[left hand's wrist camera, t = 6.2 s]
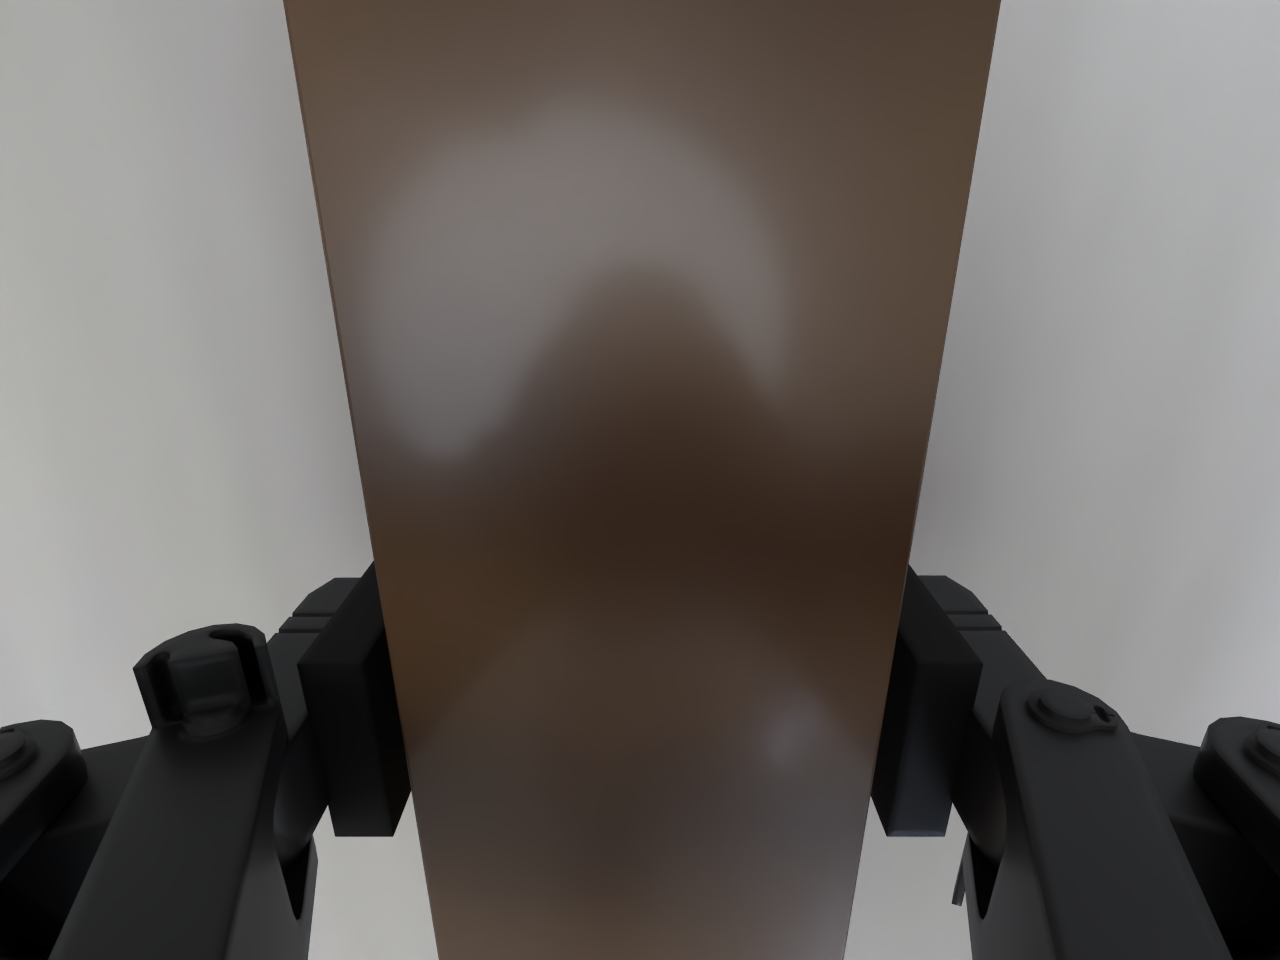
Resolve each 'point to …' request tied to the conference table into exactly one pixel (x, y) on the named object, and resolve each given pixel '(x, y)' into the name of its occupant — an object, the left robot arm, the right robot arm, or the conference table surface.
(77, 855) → the left robot arm
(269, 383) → the conference table surface
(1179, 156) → the conference table surface
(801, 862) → the bar
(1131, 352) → the conference table surface
